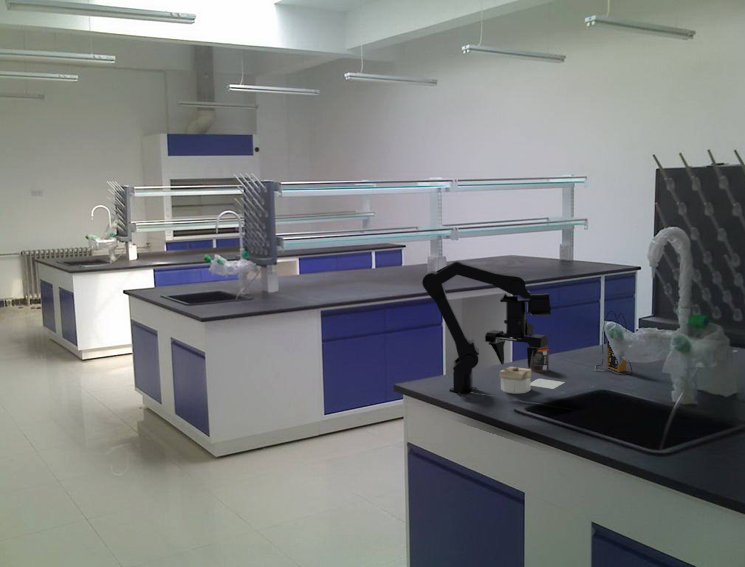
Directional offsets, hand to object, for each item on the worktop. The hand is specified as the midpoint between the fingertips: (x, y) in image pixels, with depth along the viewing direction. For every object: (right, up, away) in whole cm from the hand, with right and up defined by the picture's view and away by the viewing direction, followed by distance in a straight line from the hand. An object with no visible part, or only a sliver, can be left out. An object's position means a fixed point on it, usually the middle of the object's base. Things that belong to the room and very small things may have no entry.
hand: (516, 366), depth 224 cm
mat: (+11, -7, +7) cm, 14 cm away
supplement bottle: (+13, -5, +24) cm, 27 cm away
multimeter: (+35, -4, +22) cm, 42 cm away
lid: (0, -3, 0) cm, 3 cm away
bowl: (0, -8, +1) cm, 8 cm away
